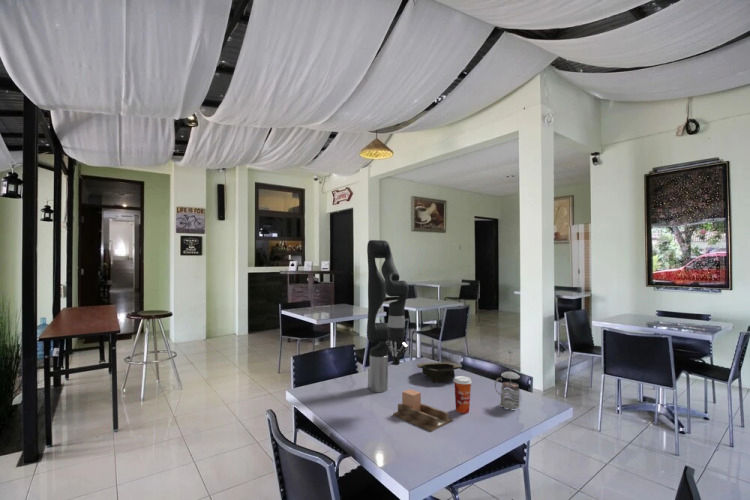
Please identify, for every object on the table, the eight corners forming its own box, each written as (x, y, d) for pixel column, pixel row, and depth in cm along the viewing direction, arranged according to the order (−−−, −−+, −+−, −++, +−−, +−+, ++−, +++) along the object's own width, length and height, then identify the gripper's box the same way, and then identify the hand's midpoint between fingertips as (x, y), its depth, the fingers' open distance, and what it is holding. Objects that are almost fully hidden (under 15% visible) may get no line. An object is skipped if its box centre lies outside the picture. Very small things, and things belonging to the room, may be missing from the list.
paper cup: (458, 415, 158) (458, 381, 159) (450, 408, 166) (450, 376, 166) (475, 413, 160) (475, 380, 161) (466, 406, 168) (466, 375, 168)
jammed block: (402, 410, 160) (402, 391, 160) (409, 407, 163) (409, 389, 163) (412, 415, 155) (413, 395, 155) (420, 411, 159) (420, 392, 159)
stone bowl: (443, 388, 191) (442, 369, 192) (407, 380, 209) (406, 363, 210) (471, 377, 208) (469, 360, 208) (435, 371, 226) (434, 355, 227)
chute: (393, 415, 157) (393, 406, 157) (414, 406, 167) (414, 397, 167) (431, 431, 143) (431, 421, 143) (452, 421, 152) (452, 411, 153)
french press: (524, 411, 163) (523, 353, 164) (496, 409, 165) (496, 352, 166) (519, 403, 173) (519, 348, 173) (493, 400, 175) (493, 347, 176)
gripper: (380, 324, 169) (379, 363, 168) (401, 328, 159) (401, 369, 159) (391, 322, 174) (391, 360, 173) (413, 326, 164) (413, 366, 164)
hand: (396, 364), depth 166 cm, fingers closed
